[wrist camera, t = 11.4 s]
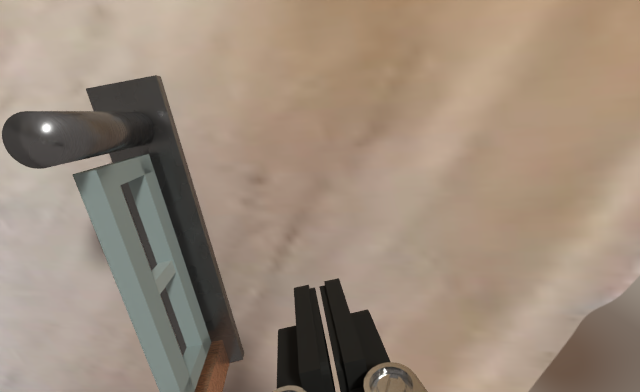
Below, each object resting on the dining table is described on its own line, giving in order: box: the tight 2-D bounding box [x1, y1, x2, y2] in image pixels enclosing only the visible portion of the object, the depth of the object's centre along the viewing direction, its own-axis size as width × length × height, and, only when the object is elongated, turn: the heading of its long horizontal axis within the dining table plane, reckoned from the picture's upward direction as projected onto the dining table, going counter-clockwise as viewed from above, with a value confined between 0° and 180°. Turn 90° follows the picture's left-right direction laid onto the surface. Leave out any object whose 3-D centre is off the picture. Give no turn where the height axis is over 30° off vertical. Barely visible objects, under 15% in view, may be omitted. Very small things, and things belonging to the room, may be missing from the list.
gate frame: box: [2, 76, 244, 392], centre depth 26 cm, size 6×30×13 cm, turn 11°
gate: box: [73, 154, 211, 392], centre depth 27 cm, size 20×2×8 cm, turn 11°
